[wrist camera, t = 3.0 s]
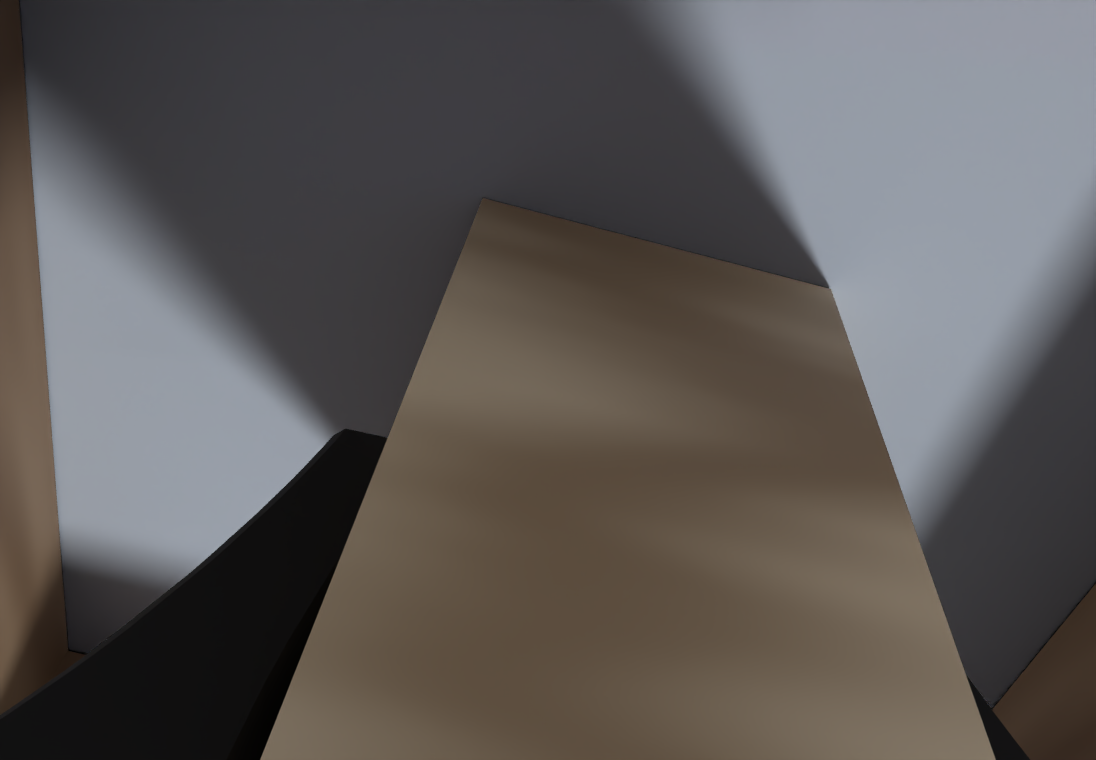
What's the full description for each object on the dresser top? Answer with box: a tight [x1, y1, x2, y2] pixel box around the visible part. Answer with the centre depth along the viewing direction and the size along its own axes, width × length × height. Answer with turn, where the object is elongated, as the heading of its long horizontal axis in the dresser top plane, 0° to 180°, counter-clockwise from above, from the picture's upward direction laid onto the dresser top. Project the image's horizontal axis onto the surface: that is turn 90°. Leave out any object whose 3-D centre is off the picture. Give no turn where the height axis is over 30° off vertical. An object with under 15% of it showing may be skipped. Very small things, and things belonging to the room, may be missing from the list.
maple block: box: [260, 198, 996, 760], centre depth 9 cm, size 4×5×7 cm
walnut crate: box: [0, 0, 1096, 760], centre depth 10 cm, size 15×15×4 cm
